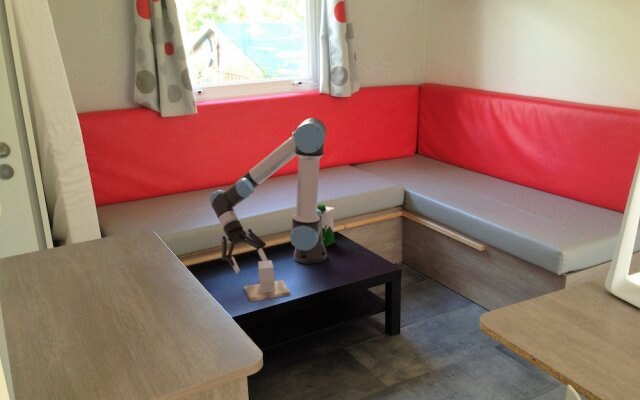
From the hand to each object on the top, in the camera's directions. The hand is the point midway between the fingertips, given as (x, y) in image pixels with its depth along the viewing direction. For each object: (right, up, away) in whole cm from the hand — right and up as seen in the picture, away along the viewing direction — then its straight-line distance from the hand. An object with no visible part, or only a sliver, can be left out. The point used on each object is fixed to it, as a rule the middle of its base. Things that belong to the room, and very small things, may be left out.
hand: (252, 267), depth 224 cm
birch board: (+6, -9, -5) cm, 12 cm away
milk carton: (+30, +6, +44) cm, 54 cm away
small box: (+7, -8, -5) cm, 12 cm away
